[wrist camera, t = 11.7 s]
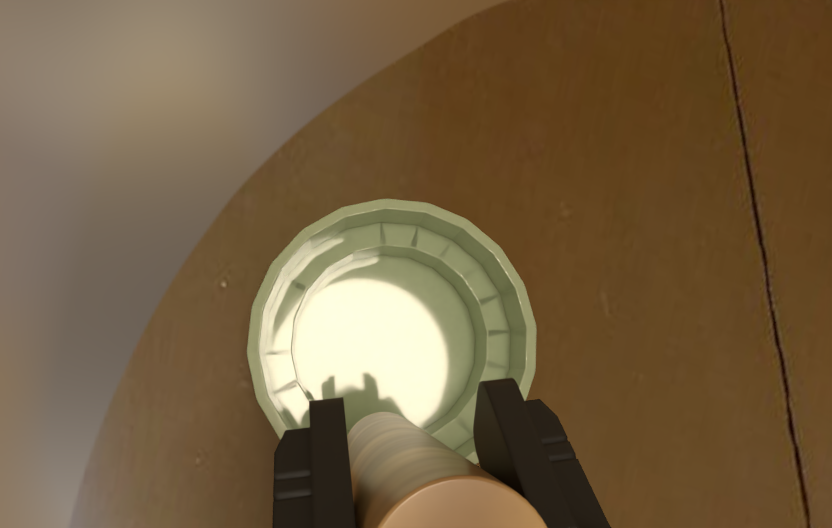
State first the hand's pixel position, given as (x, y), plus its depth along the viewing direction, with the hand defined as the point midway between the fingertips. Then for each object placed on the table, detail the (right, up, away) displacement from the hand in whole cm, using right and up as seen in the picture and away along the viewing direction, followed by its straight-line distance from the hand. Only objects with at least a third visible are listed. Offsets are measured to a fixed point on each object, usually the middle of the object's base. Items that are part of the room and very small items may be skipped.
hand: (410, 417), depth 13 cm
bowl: (-2, -2, +24) cm, 24 cm away
